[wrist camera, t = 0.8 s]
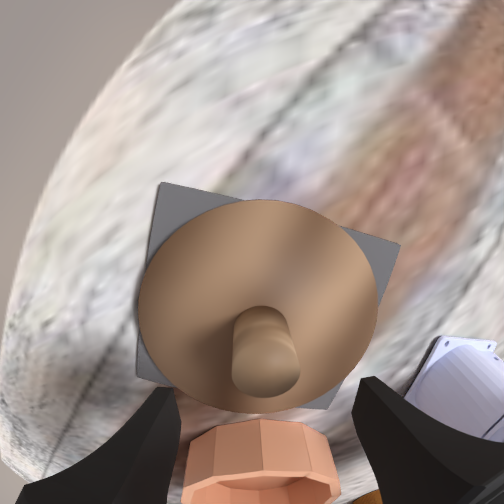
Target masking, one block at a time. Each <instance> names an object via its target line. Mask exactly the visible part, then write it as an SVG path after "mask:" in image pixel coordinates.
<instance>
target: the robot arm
mask: <svg viewBox="0 0 504 504" xmlns="http://www.w3.org/2000/svg"><path fill="white" fill-rule="evenodd" d="M496 344H497V343H496V342H495V341H493V340H481V339H470V338H459V337H450V336H441V337H439V338H438V340H437V341H436V343H435V345H434V347H433V349H432V351H431V353H430V355H429V357H428V359H427V360H426V362H425V364H424V366H423V367H422V369H421V371H420V373H419V374H418V376H417V378H416V379H415V381H414V383H413V384H412V386H411V387H410V389H409V391H408V392H407V394H406V395H405V397H404V398H403V397H401V396H400V395H399V394H397V393H396V392H395V391H394V390H392V389H391V388H390V387H388V386H387V385H386V384H385V383H383V382H382V381H381V380H379V379H378V378H377V377H375V376H372V377H366V378H361V380H360V384H359V388H358V391H357V395H356V398H355V402H354V405H353V409H352V412H351V414H352V417H353V421H354V425H355V429H356V432H357V435H358V437H359V440H360V442H361V444H362V446H363V449H364V451H365V453H366V456H367V458H368V460H369V463H370V465H371V467H372V469H373V472H374V474H375V477H376V480H377V483H378V487H379V491H380V495H381V499H382V503H383V504H504V361H503V360H501V359H500V358H499V357H498V356H497V355H496V354H495V353H493V351H494V349H495V347H496ZM180 431H181V419H180V415H179V411H178V407H177V403H176V399H175V395H174V391H173V388H166V387H157V388H156V389H155V390H154V391H153V392H152V394H151V395H150V396H149V397H148V398H147V400H146V401H145V402H144V403H143V404H142V406H141V407H140V408H139V409H138V410H137V411H136V413H135V414H134V415H133V416H132V417H131V418H130V419H129V420H128V421H127V422H126V423H125V424H124V426H123V427H121V428H120V429H119V430H118V431H117V432H116V433H115V434H114V435H113V436H112V437H111V438H110V439H109V440H108V441H107V442H105V443H104V444H103V445H102V446H101V447H99V448H98V449H97V450H95V451H94V452H93V453H91V454H90V455H88V456H87V457H85V458H84V459H82V460H81V461H79V462H78V463H76V464H74V465H73V466H71V467H69V468H67V469H65V470H63V471H61V472H59V473H57V474H55V475H53V476H50V477H48V478H45V479H42V480H39V481H36V482H33V483H30V484H26V485H24V487H23V489H22V491H21V493H20V495H19V497H18V499H17V501H16V503H15V504H166V503H167V494H168V488H169V484H170V480H171V476H172V471H173V467H174V463H175V459H176V455H177V451H178V446H179V440H180Z"/></svg>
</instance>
